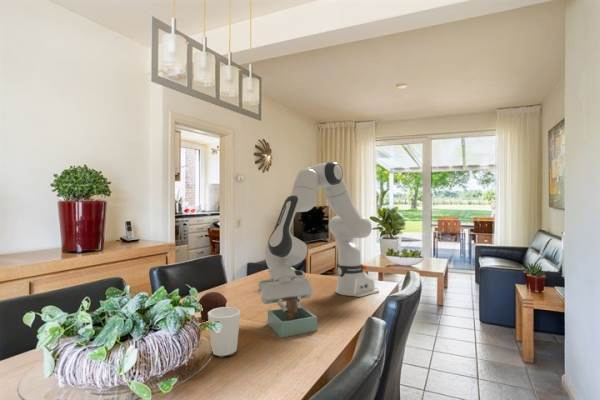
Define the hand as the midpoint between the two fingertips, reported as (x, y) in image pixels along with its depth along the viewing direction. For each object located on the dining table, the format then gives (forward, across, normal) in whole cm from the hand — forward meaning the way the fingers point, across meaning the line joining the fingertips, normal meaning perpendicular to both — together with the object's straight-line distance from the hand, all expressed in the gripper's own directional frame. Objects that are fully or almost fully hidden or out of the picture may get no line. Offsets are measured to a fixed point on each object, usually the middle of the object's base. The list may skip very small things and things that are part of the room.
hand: (292, 310), depth 122 cm
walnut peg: (+3, 0, +4) cm, 4 cm away
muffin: (-11, -25, +21) cm, 34 cm away
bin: (+4, 0, +5) cm, 6 cm away
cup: (+11, -27, -2) cm, 29 cm away
